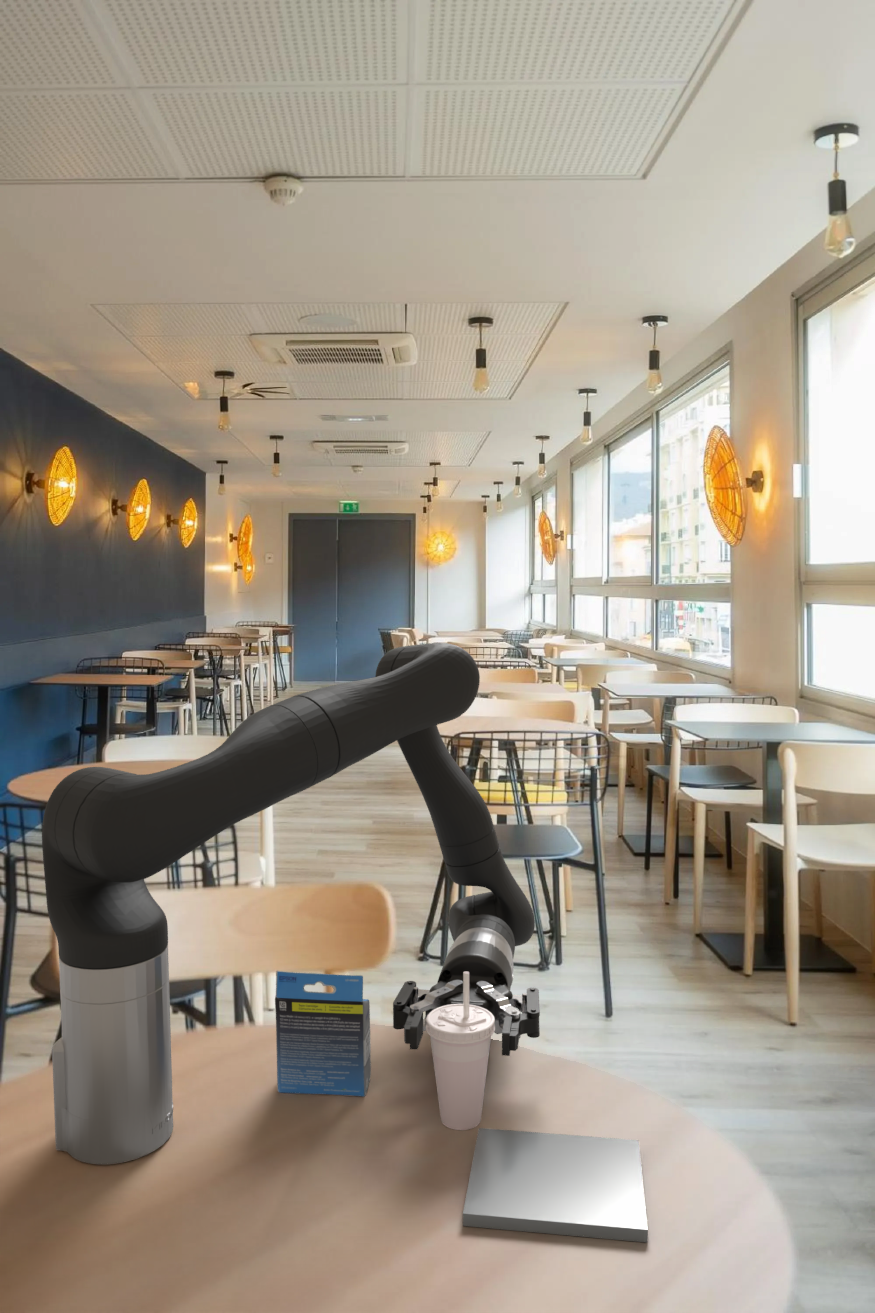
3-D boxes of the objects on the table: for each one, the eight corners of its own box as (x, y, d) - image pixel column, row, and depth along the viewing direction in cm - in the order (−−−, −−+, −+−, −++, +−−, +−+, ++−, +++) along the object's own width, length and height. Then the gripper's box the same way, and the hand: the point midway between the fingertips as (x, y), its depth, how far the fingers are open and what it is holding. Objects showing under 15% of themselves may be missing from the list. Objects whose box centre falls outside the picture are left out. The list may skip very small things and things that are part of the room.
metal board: (462, 1226, 76) (462, 1213, 76) (478, 1138, 88) (478, 1128, 88) (647, 1242, 74) (647, 1230, 74) (638, 1151, 86) (638, 1140, 86)
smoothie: (489, 1142, 87) (489, 989, 86) (419, 1134, 89) (418, 983, 88) (499, 1104, 94) (499, 961, 93) (433, 1097, 95) (433, 956, 94)
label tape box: (372, 1079, 99) (371, 959, 98) (365, 1100, 95) (363, 976, 94) (286, 1074, 100) (284, 956, 99) (275, 1095, 96) (273, 972, 95)
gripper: (412, 936, 107) (382, 999, 91) (543, 942, 105) (537, 1007, 89) (412, 1003, 107) (383, 1077, 91) (543, 1011, 105) (537, 1088, 89)
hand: (459, 1043), depth 90 cm, fingers open, 8 cm apart
